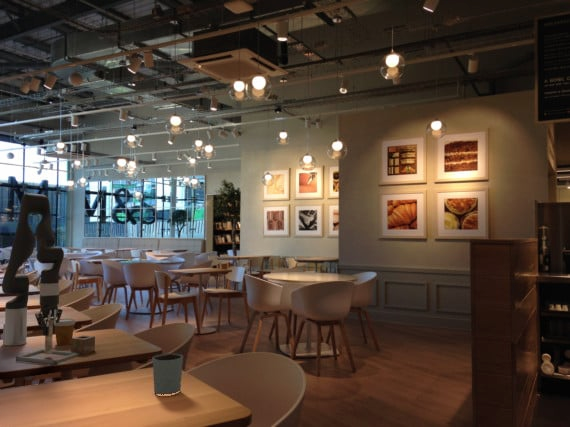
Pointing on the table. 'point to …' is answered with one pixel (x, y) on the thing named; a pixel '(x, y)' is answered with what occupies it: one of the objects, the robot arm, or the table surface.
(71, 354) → the tray
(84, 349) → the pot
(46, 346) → the dowel
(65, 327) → the disposable coffee cup
